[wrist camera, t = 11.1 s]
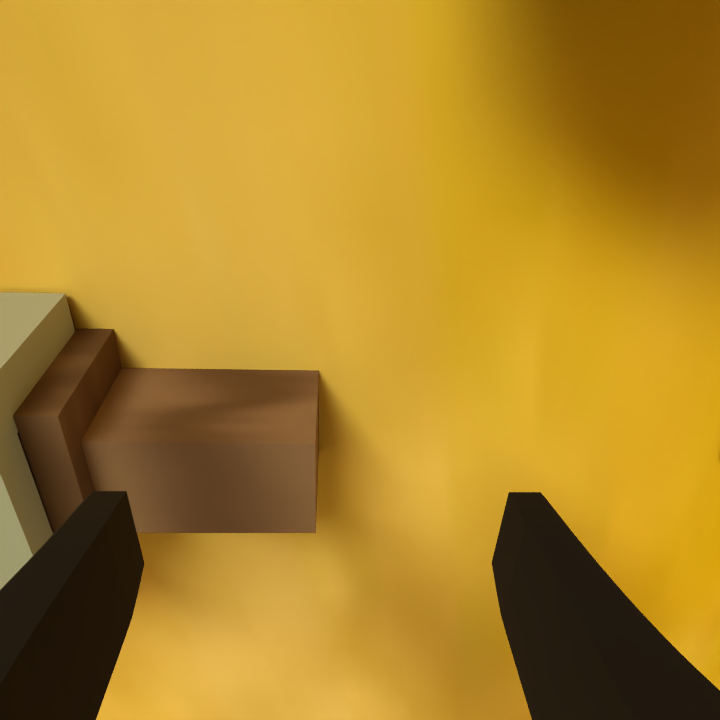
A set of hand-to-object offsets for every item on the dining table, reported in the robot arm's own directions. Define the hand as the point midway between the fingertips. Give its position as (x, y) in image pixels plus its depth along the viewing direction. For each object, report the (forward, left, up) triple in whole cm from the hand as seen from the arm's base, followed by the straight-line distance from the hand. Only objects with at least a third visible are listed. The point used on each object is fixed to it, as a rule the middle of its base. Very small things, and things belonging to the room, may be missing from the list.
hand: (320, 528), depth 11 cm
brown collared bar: (+8, +5, -10) cm, 14 cm away
